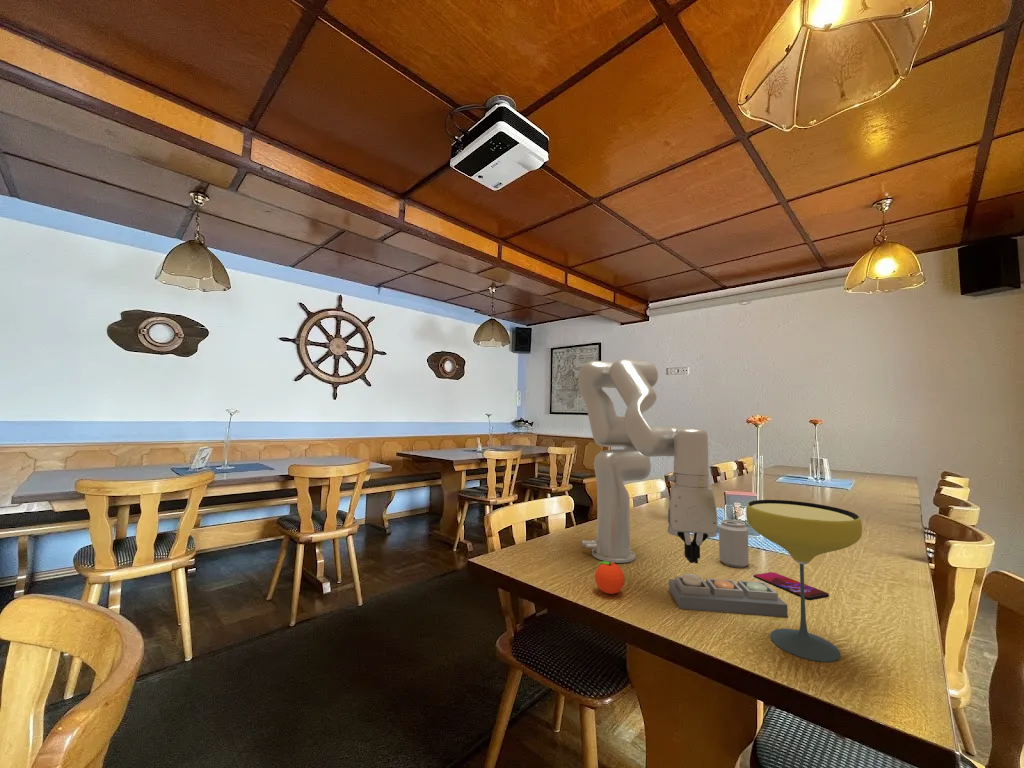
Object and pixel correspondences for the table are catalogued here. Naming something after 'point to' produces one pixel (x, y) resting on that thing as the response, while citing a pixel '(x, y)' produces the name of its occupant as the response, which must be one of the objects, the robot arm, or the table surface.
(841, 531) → the cocktail glass
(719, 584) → the terracotta button
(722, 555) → the can
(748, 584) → the sage button
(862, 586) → the table surface
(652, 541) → the table surface
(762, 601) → the button panel
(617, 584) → the clementine
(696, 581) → the cream button
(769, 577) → the smartphone
